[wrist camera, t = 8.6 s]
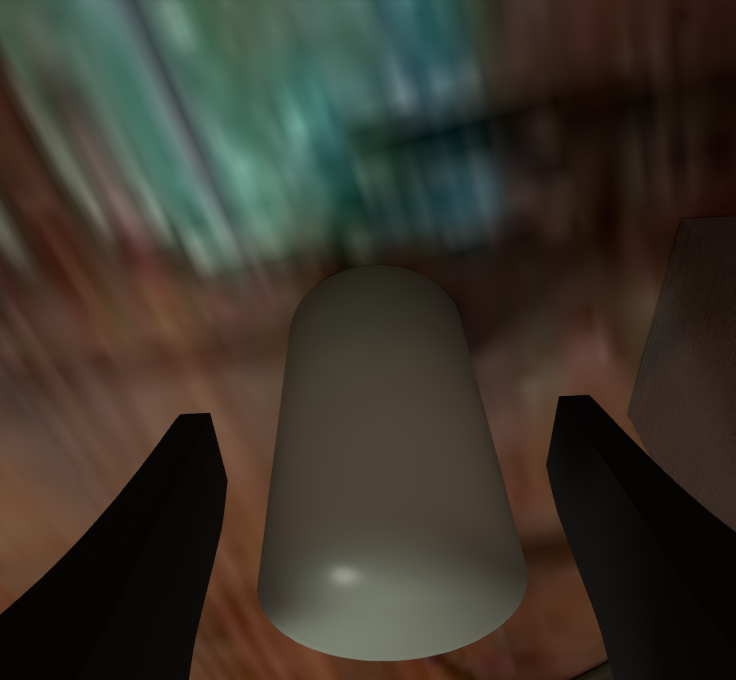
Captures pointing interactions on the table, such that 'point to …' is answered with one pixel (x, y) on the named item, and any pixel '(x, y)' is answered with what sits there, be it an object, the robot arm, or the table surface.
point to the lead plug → (385, 478)
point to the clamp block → (694, 368)
